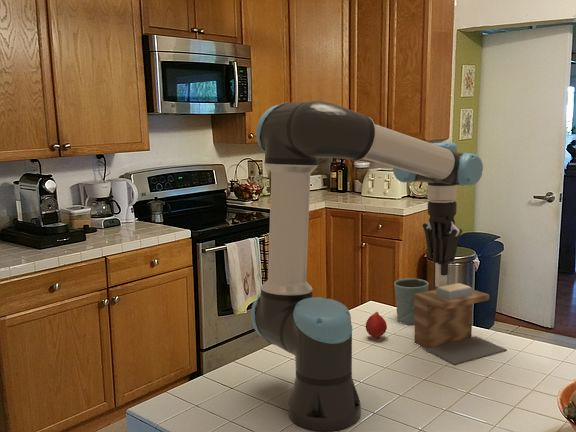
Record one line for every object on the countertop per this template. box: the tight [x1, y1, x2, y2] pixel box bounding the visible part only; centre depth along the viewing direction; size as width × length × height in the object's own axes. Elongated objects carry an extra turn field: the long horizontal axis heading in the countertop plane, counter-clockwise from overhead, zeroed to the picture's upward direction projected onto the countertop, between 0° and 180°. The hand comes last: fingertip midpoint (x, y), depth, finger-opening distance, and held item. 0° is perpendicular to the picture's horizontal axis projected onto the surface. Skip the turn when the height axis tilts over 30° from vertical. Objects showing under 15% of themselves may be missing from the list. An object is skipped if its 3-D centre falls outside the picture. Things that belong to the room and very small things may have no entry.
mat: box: [424, 336, 508, 366], centre depth 150 cm, size 18×11×1 cm, turn 117°
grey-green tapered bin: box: [393, 278, 430, 326], centre depth 174 cm, size 10×10×12 cm
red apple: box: [365, 311, 388, 340], centre depth 160 cm, size 6×6×8 cm
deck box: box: [435, 282, 474, 300], centre depth 152 cm, size 8×5×2 cm, turn 117°
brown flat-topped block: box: [413, 289, 490, 350], centre depth 154 cm, size 16×11×14 cm
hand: (440, 285), depth 156 cm, fingers closed
